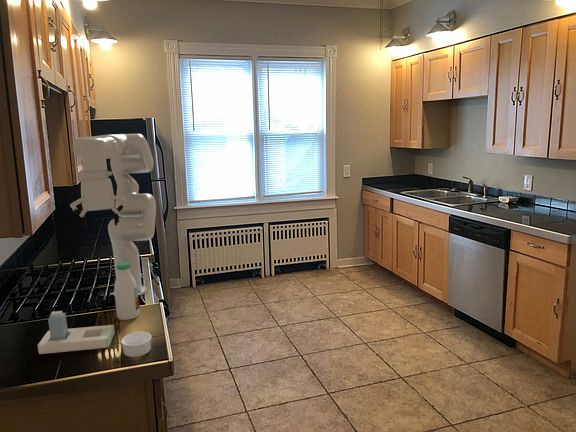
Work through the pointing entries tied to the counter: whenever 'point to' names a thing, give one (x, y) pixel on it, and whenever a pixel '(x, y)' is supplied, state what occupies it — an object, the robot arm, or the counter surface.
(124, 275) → the milk bottle
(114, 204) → the robot arm
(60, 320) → the plug
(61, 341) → the socket panel
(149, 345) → the ramekin
